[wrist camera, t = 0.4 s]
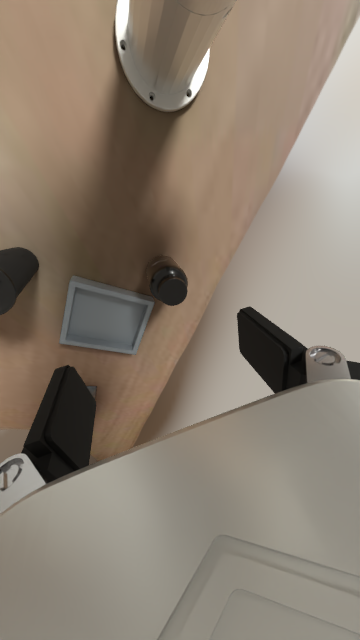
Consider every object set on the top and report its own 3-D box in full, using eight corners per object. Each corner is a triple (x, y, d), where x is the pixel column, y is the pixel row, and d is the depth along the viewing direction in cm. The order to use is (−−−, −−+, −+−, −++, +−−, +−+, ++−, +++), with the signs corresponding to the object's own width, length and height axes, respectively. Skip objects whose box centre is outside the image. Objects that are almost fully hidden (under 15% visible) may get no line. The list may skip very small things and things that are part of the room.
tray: (73, 275, 39) (69, 280, 36) (152, 296, 45) (154, 302, 42) (62, 335, 44) (59, 343, 41) (134, 347, 50) (135, 354, 48)
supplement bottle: (157, 247, 40) (169, 262, 30) (183, 266, 43) (202, 285, 33) (138, 276, 42) (144, 299, 32) (165, 292, 45) (178, 317, 35)
